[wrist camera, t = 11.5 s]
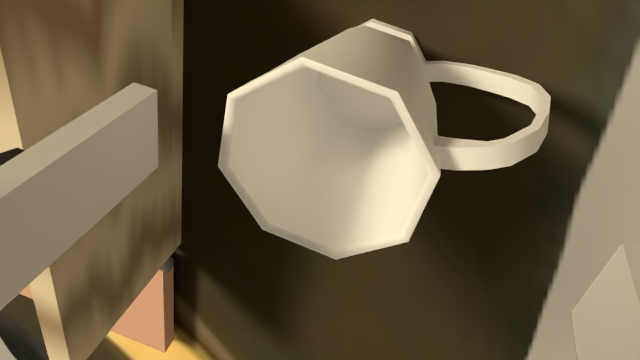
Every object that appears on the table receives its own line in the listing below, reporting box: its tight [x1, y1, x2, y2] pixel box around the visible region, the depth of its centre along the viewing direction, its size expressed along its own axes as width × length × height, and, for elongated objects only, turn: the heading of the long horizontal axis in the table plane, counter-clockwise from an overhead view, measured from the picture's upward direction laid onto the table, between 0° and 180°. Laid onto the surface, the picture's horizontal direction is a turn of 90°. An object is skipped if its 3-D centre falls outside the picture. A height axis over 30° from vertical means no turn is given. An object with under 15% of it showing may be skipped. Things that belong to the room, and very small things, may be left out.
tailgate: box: [19, 257, 174, 353], centre depth 35 cm, size 1×14×9 cm
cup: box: [218, 19, 551, 259], centre depth 18 cm, size 7×10×8 cm
